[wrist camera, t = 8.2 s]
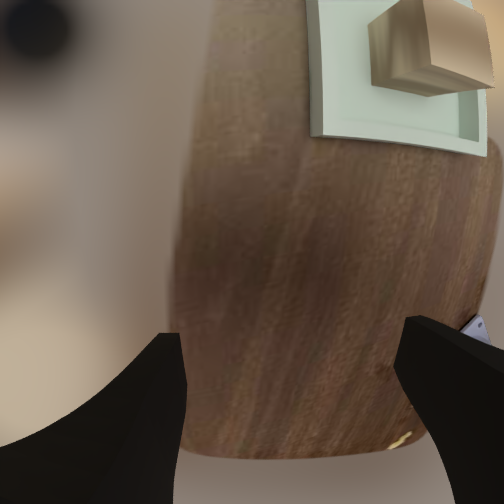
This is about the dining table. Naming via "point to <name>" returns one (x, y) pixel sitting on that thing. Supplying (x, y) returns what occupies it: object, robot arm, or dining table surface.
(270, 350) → the dining table surface
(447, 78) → the maple block
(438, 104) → the sage tray
